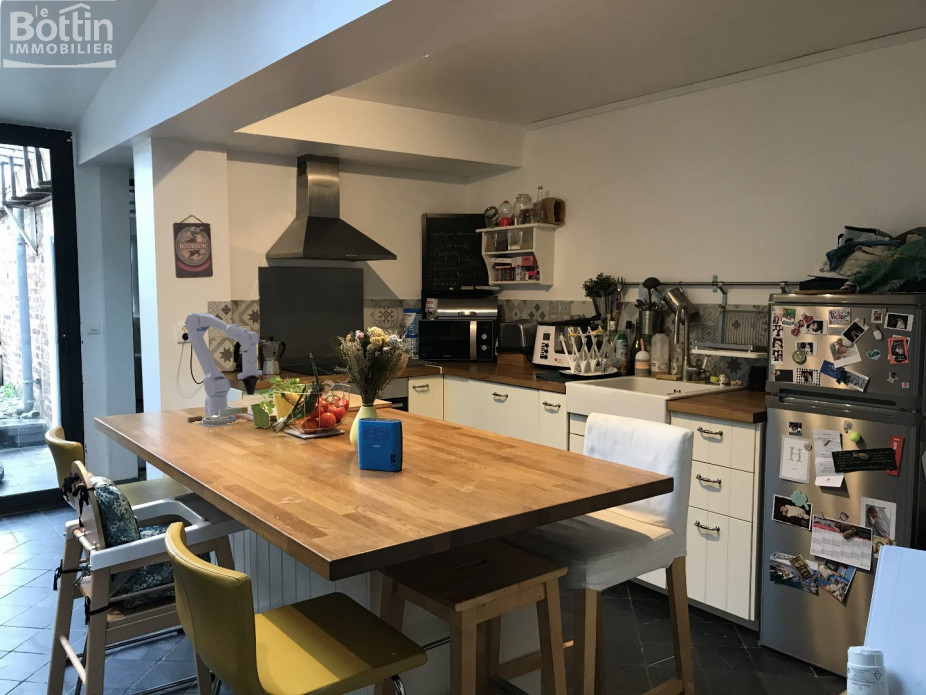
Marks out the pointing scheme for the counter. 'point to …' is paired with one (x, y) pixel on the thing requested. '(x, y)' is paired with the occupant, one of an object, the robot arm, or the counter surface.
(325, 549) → the counter surface
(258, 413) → the plant pot
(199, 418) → the screwdriver
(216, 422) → the board
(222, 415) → the dial
